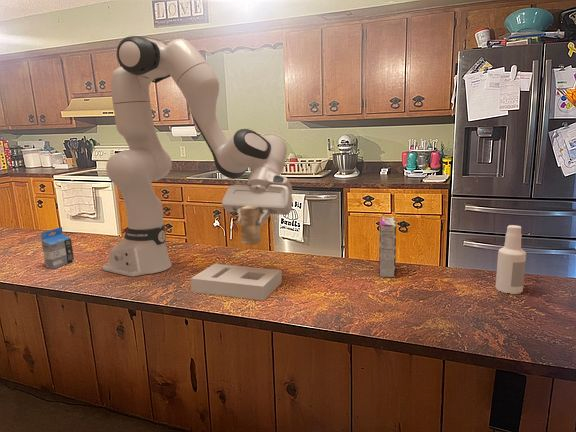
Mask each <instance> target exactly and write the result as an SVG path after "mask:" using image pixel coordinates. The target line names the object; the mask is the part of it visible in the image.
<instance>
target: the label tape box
mask: <svg viewBox="0 0 576 432" xmlns="http://www.w3.org/2000/svg"><path fill="white" fill-rule="evenodd" d="M52 233H54V234H52ZM50 234H51V235H50ZM40 236H41V237H40V239H41V246H42V252H43V258H44V264H45V269H49V270H50V269H51V270H52V269H53V270H55V269H58V268H60V267H63V266H65V265H67V264H70V263H73V262H75V257H74V250H73V242H72V238H71V237H69V236H67V235H66V234H64V233H63V226H60V227H57V228H53V229H50V230H45V231H43V232H40Z"/></svg>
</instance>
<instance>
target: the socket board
mask: <svg viewBox="0 0 576 432" xmlns="http://www.w3.org/2000/svg"><path fill="white" fill-rule="evenodd" d="M282 283H283V281H282V269H272V268H263V267H251V266H243V265H242V266H241V265H232V264H231V265H230V264H221V263H213V264H212V265H210V266H208V267H207V268H205V269H204V270H202V271H200V272H199V273H197V274H195V275H194V276H192V277H190V290H191V291H190V292H191V293H199V294H206V295H212V296H221V297H222V296H223V297H230V298H231V297H232V298H238V299H247V300H248V299H249V300H256V301H261V302H263V301H265V300H266V299H267V298H268V297H270V295H271V294H272V293H273V292H274V291H275V290H276V289H277V288H279V287H280V286H281V284H282Z"/></svg>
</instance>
